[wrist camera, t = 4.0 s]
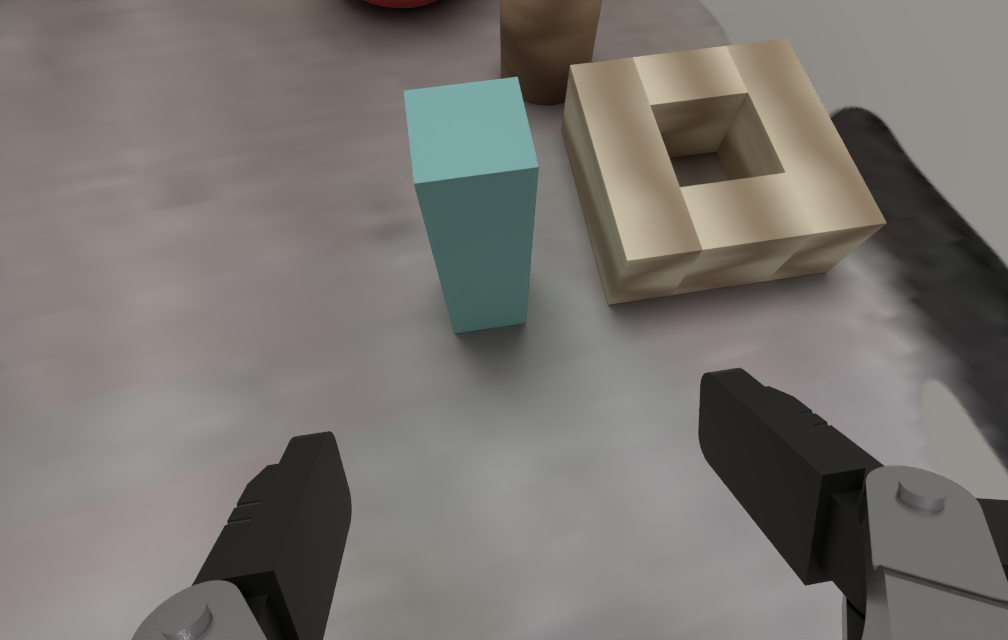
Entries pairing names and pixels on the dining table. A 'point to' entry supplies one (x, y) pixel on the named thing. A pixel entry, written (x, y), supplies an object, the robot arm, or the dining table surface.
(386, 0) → the plant pot
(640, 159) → the socket block
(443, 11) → the dining table surface
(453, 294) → the square peg
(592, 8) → the tan cylinder
